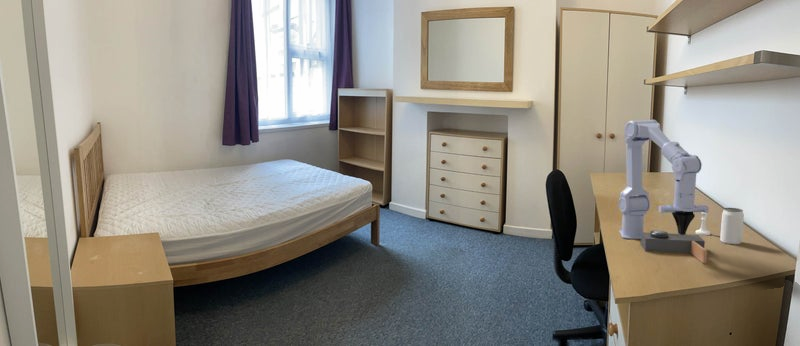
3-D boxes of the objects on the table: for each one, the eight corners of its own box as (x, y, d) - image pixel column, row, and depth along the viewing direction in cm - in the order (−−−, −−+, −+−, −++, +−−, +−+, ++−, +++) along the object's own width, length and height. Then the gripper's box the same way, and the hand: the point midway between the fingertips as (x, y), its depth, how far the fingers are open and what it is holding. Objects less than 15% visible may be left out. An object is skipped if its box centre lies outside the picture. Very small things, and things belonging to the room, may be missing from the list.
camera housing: (640, 244, 178) (641, 228, 177) (696, 247, 174) (698, 230, 173) (645, 251, 171) (646, 234, 170) (703, 254, 167) (705, 236, 166)
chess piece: (705, 231, 191) (706, 205, 190) (713, 234, 187) (715, 209, 185) (692, 231, 191) (694, 206, 190) (700, 235, 186) (702, 209, 185)
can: (721, 238, 182) (723, 206, 180) (742, 241, 178) (745, 208, 176) (718, 242, 177) (721, 210, 175) (740, 246, 173) (743, 212, 171)
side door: (703, 263, 158) (704, 250, 157) (690, 252, 167) (691, 240, 167) (708, 263, 157) (709, 250, 157) (695, 253, 167) (696, 241, 166)
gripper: (666, 196, 156) (663, 237, 159) (714, 195, 155) (711, 237, 157) (657, 191, 163) (654, 231, 166) (703, 190, 162) (700, 231, 164)
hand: (681, 233), depth 162 cm, fingers closed
